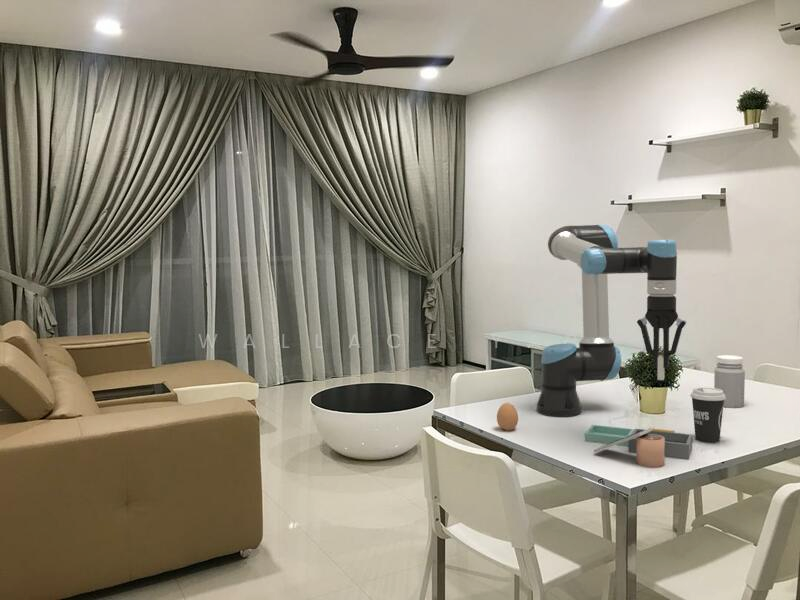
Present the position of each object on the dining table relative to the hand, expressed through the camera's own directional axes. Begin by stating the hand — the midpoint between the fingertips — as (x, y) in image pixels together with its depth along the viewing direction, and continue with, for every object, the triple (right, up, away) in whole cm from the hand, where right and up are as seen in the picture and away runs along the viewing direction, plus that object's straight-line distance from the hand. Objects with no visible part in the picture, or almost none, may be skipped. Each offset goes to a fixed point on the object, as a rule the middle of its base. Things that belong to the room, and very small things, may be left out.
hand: (660, 379), depth 187 cm
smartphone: (-16, -22, 0) cm, 27 cm away
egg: (-39, -20, +25) cm, 50 cm away
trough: (-10, -20, +13) cm, 26 cm away
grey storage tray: (+1, -20, +2) cm, 20 cm away
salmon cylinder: (-7, -21, -9) cm, 24 cm away
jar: (+44, -16, +50) cm, 68 cm away
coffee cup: (+18, -20, +10) cm, 28 cm away
